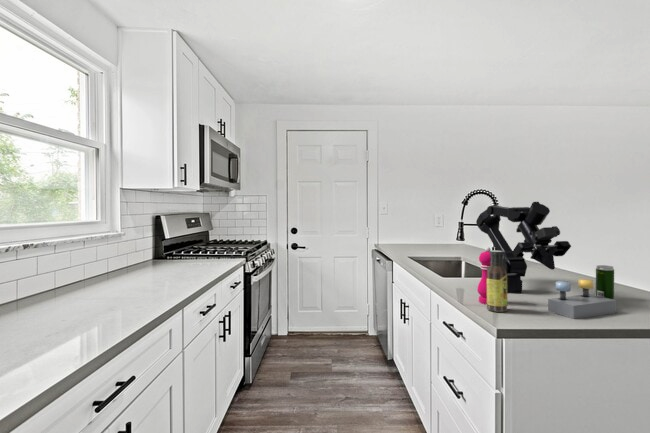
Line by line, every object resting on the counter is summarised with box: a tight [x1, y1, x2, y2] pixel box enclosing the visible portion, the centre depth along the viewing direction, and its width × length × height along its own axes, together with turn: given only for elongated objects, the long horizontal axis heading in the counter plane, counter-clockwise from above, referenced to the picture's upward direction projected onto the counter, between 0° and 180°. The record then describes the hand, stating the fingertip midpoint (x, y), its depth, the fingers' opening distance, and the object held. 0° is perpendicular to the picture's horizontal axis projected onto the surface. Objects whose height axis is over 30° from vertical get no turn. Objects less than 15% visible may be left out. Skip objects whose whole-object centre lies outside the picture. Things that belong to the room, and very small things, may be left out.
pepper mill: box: [477, 246, 491, 305], centre depth 136 cm, size 7×7×20 cm
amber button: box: [578, 278, 594, 298], centre depth 126 cm, size 4×4×6 cm
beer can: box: [595, 264, 615, 300], centre depth 137 cm, size 5×5×12 cm
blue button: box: [555, 280, 571, 300], centre depth 123 cm, size 4×4×6 cm
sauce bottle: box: [486, 249, 508, 313], centre depth 126 cm, size 6×6×20 cm
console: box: [547, 293, 617, 320], centre depth 123 cm, size 18×9×4 cm, turn 108°
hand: (553, 268), depth 128 cm, fingers closed
